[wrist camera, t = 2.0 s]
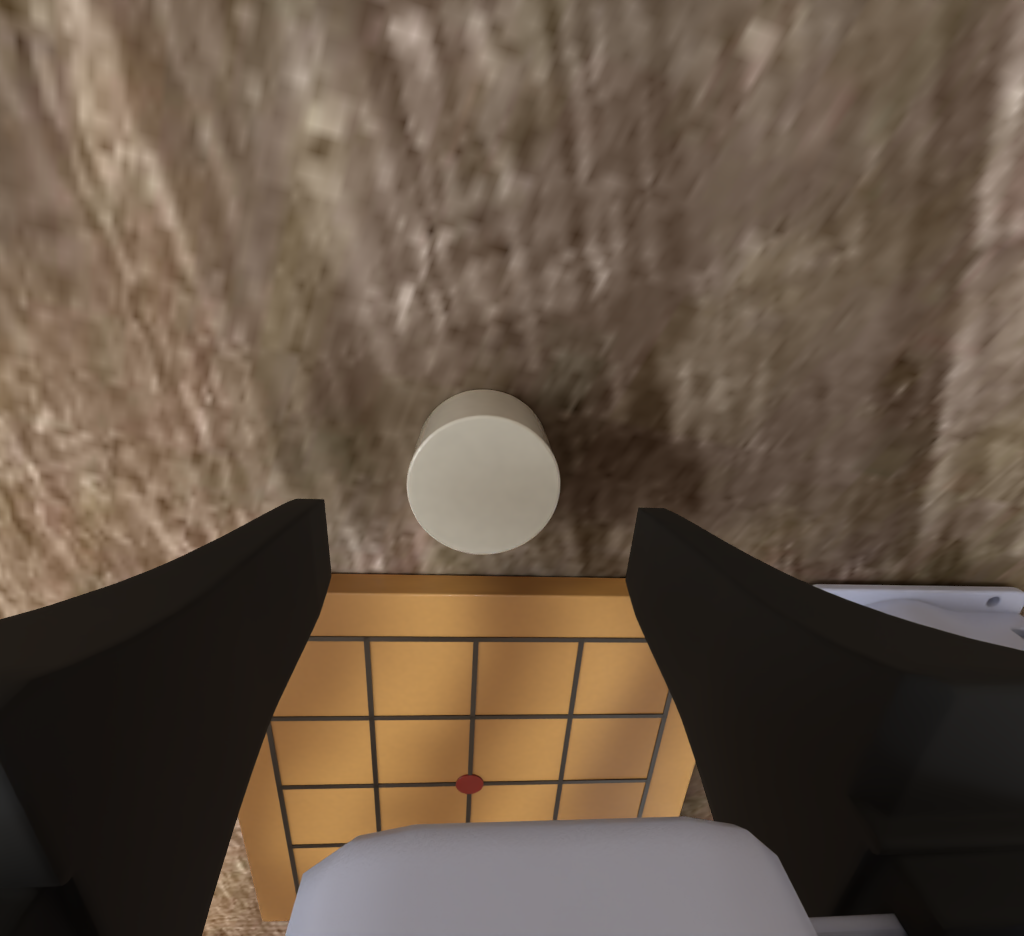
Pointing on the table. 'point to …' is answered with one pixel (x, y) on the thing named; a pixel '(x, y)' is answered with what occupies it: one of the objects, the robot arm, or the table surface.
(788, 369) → the table surface
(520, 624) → the game board
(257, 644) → the robot arm
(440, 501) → the white stone
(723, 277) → the table surface
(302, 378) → the table surface
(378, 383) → the table surface
